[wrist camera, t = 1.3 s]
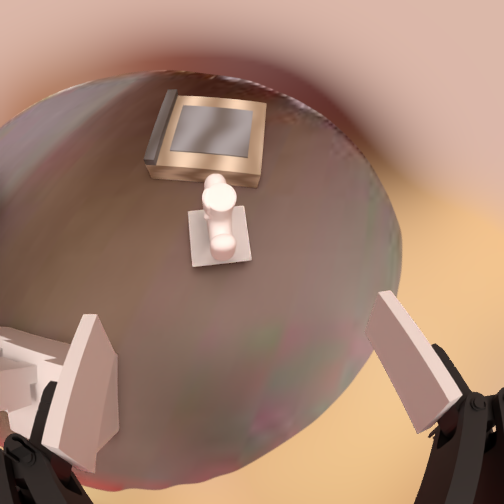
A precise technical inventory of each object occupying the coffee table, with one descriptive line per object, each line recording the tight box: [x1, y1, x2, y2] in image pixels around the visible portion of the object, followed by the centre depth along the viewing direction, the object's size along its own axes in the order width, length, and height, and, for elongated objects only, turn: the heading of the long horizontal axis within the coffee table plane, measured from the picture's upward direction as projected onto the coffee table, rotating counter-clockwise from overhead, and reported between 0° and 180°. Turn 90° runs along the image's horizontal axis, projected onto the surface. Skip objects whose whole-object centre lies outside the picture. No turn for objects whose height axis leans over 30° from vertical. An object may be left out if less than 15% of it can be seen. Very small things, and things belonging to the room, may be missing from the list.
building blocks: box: [0, 327, 120, 452], centre depth 19 cm, size 22×12×25 cm, turn 88°
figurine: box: [188, 174, 252, 267], centre depth 31 cm, size 7×9×15 cm
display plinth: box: [144, 90, 266, 188], centre depth 39 cm, size 16×14×6 cm
